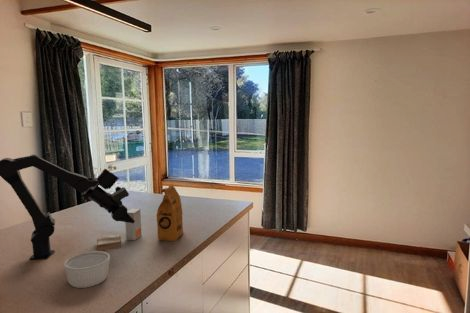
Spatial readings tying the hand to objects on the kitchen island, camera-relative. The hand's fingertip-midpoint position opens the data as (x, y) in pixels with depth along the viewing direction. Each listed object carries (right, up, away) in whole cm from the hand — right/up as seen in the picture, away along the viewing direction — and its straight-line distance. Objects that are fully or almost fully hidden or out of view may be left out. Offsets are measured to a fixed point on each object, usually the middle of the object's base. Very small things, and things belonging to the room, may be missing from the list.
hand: (131, 219), depth 139 cm
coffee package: (+16, -8, +2) cm, 18 cm away
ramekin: (-3, -13, -34) cm, 36 cm away
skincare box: (+1, -8, +1) cm, 8 cm away
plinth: (-7, -9, -7) cm, 13 cm away
